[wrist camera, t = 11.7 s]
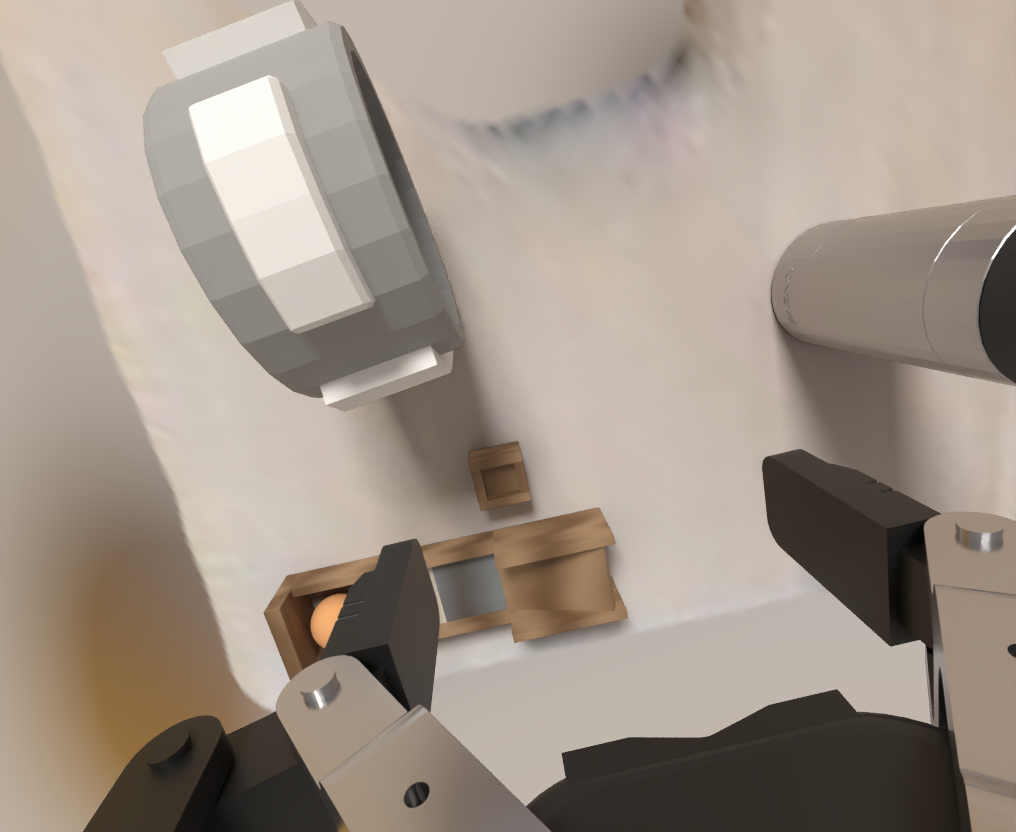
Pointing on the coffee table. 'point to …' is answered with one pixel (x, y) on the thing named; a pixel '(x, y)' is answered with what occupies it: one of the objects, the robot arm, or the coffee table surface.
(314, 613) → the ball
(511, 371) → the coffee table surface
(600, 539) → the lane
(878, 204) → the coffee table surface
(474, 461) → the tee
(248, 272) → the alarm clock
